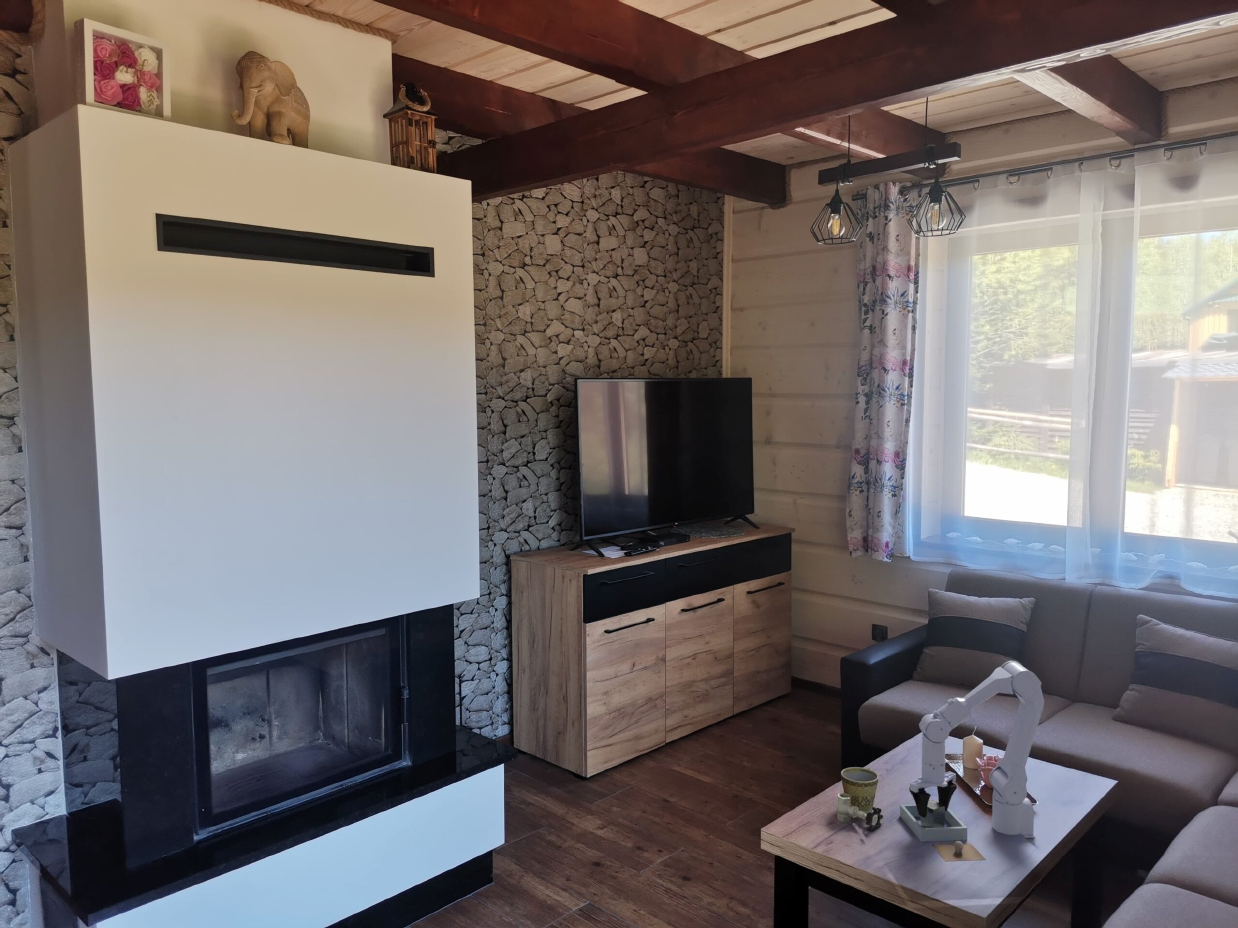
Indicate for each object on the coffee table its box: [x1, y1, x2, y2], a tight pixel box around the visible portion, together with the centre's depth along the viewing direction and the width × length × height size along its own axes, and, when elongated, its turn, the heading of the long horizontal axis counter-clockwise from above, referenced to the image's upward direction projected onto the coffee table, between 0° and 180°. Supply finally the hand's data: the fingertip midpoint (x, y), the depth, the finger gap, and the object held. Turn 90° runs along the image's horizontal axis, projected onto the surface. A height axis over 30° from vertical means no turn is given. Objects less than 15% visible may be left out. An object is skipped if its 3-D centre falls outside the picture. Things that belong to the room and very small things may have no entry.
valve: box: [835, 792, 884, 832], centre depth 232 cm, size 7×7×12 cm
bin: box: [899, 803, 968, 842], centre depth 228 cm, size 12×14×4 cm
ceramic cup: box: [840, 766, 879, 815], centre depth 241 cm, size 13×10×10 cm
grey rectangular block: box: [920, 799, 946, 828], centre depth 227 cm, size 4×4×6 cm
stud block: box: [932, 840, 987, 862], centre depth 215 cm, size 10×8×4 cm
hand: (932, 812), depth 227 cm, fingers open, 7 cm apart
